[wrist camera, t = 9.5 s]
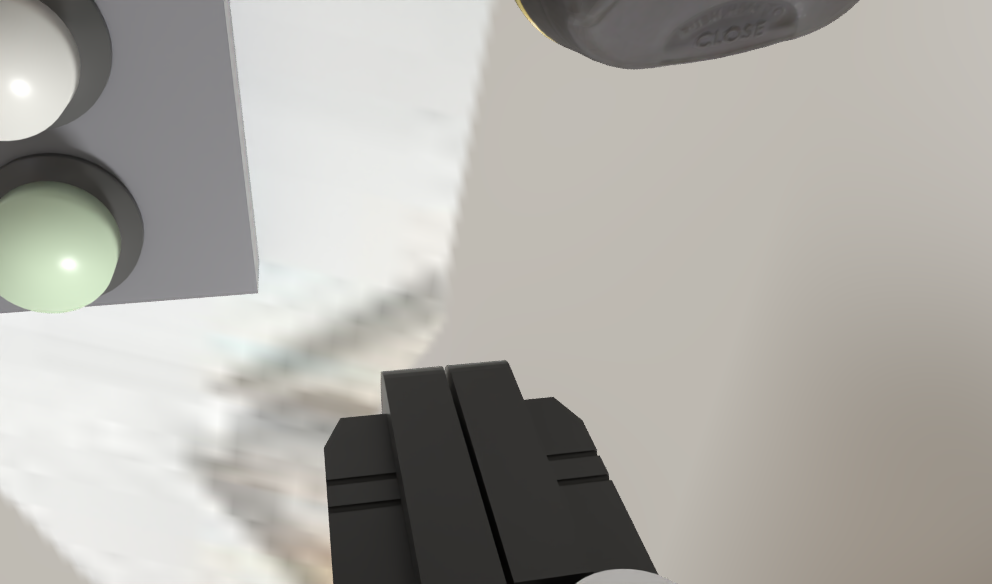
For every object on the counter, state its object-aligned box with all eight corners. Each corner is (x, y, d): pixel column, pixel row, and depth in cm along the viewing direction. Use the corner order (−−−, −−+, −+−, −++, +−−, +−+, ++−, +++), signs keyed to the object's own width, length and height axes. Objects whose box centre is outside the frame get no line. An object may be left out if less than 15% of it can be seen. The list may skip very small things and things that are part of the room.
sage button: (-27, 184, 33) (-41, 201, 31) (109, 177, 34) (102, 193, 32) (3, 298, 35) (-8, 318, 34) (130, 288, 36) (124, 307, 35)
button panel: (-277, -317, 28) (-343, -330, 25) (195, -298, 31) (186, -308, 28) (-87, 286, 38) (-118, 328, 35) (259, 262, 41) (257, 299, 38)
